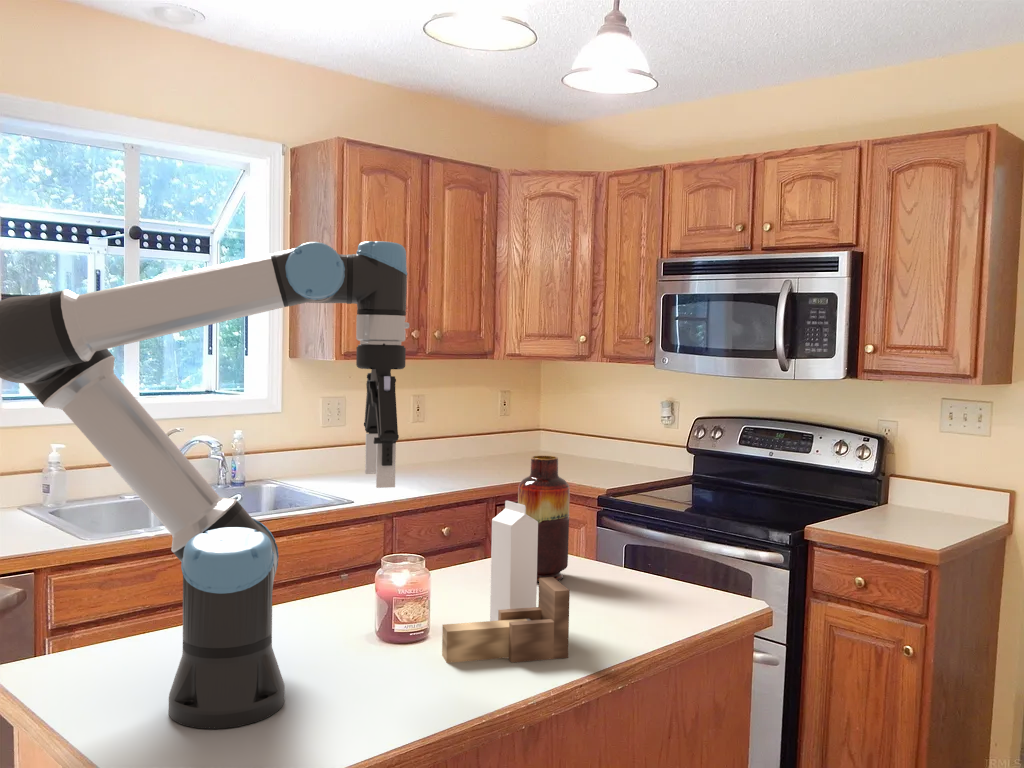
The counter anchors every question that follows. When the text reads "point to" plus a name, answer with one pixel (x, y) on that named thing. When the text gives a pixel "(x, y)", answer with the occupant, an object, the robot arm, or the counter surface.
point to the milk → (513, 560)
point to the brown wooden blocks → (540, 625)
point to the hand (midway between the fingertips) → (379, 480)
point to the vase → (548, 514)
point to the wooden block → (476, 640)
